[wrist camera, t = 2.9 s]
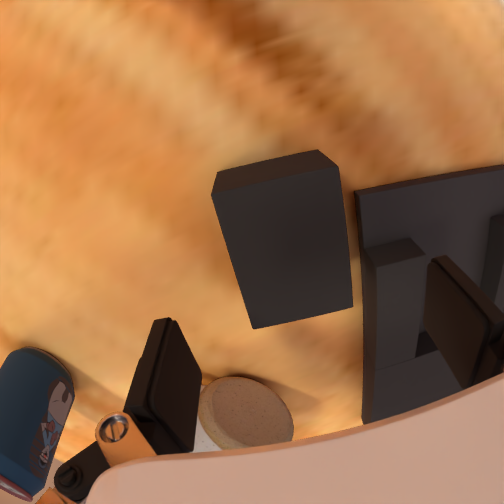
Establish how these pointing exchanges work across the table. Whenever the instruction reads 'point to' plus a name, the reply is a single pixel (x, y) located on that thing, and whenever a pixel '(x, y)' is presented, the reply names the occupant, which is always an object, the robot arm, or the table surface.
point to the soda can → (31, 418)
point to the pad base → (433, 219)
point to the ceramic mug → (240, 416)
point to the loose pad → (286, 236)
